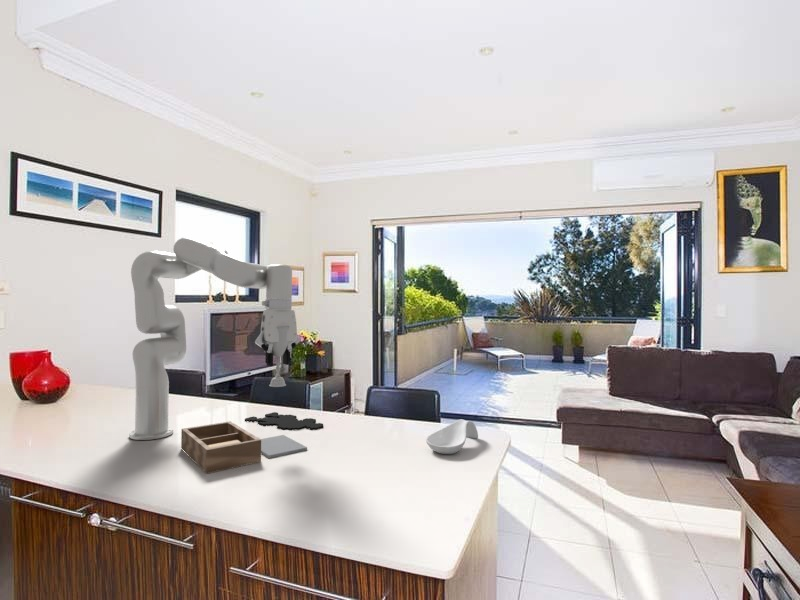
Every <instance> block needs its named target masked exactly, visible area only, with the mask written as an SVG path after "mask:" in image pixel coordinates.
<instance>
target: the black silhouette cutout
mask: <svg viewBox="0 0 800 600" xmlns="http://www.w3.org/2000/svg"><path fill="white" fill-rule="evenodd" d="M247 421H249V422H251V421H252V422H251V423H254V422H255V421H256V423H257V425H258V424H259V426H262V425H263V427H266V425H267V427H270V426H271V427H273V426H276V428H277V429H279V430H283V431H286V430H287V431H296V430H297V431H300V430H303V429H306V430H309V431H316V430H320V429H324V423H322V422H316V418H311V417H310V418H303V419H298V418H297V415H294V414H279V412H276V411H274V412H269V413H266V414H265V415H264V417H257V416H253V415H252V416H250V417H245V418H244V422H247Z"/></svg>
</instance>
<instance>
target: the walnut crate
mask: <svg viewBox="0 0 800 600" xmlns="http://www.w3.org/2000/svg"><path fill="white" fill-rule="evenodd" d="M180 436H181V437H180V439H181V442H180V443H181V446H180V448H182V449H183V450H184V451H185V452H186V453H187V454H188V455H189V456H188V455H187V454H186V453H185V452H184V451H183V450H182V449H181V450H182V451H183V452H184V453H185V454H186V455H187V456H188V458H190V457H191V458H192V459H193V460H194V461H195V462H196V463H197V464H198V465H199V466H200V467H201V470H202V471H204V472H205V474H211V473H215V472H219V471H224V470H229V468H230V469H233V468H232V467H234V468H237V466H239V467H242V466H241V465H243V466H247V465H246V464H248V465H252V464H256V462H257V463H261V462H262V454H261V439H262V438H259V437H258V436H255V435H254V434H252V433H250V432H249V431H247V430H246V429H244V428H243V427H241V426H238V424H235V423H234V422H233V421H229V420H228V421H224V422H216V423H211V424H205V425H199V426H198V425H197V426H191V427H186V428H181V435H180ZM233 440H238V441H240V443H235V444H229V445H224V446H219V447H213V448H210V447H209V446H207V445H212V444H217V443H222V442H228V441H233ZM191 458H190V459H191ZM192 459H191V460H192ZM193 460H192V461H193ZM194 461H193V462H194ZM195 462H194V463H195ZM196 463H195V464H196ZM251 463H252V464H251ZM197 464H196V465H197ZM198 465H197V466H198ZM199 466H198V467H199ZM200 467H199V468H200Z"/></svg>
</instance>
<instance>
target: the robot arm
mask: <svg viewBox="0 0 800 600" xmlns="http://www.w3.org/2000/svg"><path fill="white" fill-rule="evenodd" d="M202 270H203V271H205V272H208V273H210V274H212V275H213V276H215V277H216V278H218V279H219V280H222V281H224V282H227V283H230V284H231V285H235V286H237V287H240V288H244V289H245V288H246V289H258V290H259V289H260V290H261V289H265V290H266V292H265V294H266V295H265V300H263V301H261V305H262V307H263V306H264V307H265V309H263V314H262V316H261V317H262V318H261V322H260V323H261V325H260V333H259V335H258V336H257V338H256V339H255V340H254V343H255V345H257V346H258V347H260V349H261V350H262V351H263V352H264V353H265V359H264V360H265V364H266V366H268V367H273V366H274V355H273V353H272V347H273V343H277V342H279V334H278V333H279V332H278V329H277V328H276V327H289V329H288V330H287V342H288V345H287V348H286V350H285V352H284V354H283V356H282V364H283V365H286V366H289V365H290V362H291V352H292V351H293V349H294V348H295V347H296V346H297V345H298V344H299V343H300V342H301V341H302V340H301V338H300V336H299V335H298V330H297V329H298V328H297V318H296V312H295V310H294V309H293V308H292V304H293V303H292V301H293V300H292V296H293V294H292V293H293V291H292V290H293V289H292V288H293V268H292V267H291V265H289V264H276V263H275V264H270V265H265V264H260V263H259V264H258V263H253V262H247V261H243V260H241V259H238V258H235V257H233V256H230V255H229V253H228V251H227V250H226V249H225V248H222V247H220V246H216V245H214V244H213V243H212V242H211V241H209V240H206V239H203V238H202V239H201V238H196V237H192V236H185V237H181V238H179V239H177V241H175V243H174V245H173V253H172V252H167V251H160V250H159V251H158V250H149V251H145V252H142V253H140V254H139V255H138V256H137V257H136V258H135V259H134V260H133V262H132V265H131V270H130V275H131V276H130V277H131V284H132V286H133V294H134V309H135V310H134V311H135V313H134V314H135V324H136V327H137V329H138V331H139V332H140V333H143V334H146V335H156V334H160V336H159V337H150V338H145V339H143V340H140V341H139V342H138V343H136V344H135V346H134V347H133V349H132V362H133V366H134V371H135V405H134V406H135V411H134V412H135V415H134V416H135V418H134V421H135V422H134V430H132V431H131V432H129V438H130V439H132V440H135V441H149V440H156V439H157V440H158V439H163V438H166V437H169V436H171V435H172V434H173V433H174V428H173V427H170V426H169V399H170V398H169V397H170V395H169V394H170V393H169V392H170V390H169V388H170V385H169V384H170V381H169V375H168V372H167V370H166V368H165V366H169V365H173V364H174V365H175V364H178V363H180V362H182V361H183V360H184V358H185V356H186V354H187V338H186V337H187V336H186V323H185V322H186V321H185V317H184V314H183V312H182V310H181V309H180V308H178V307H177V306H175V305H172V304H165V293H164V290H163V289H164V288H163V287H162V284H161V283H160V281H159V280H158V279H159V278H163V279H172V280H173V279H175V280H179V279H184V278H187V277H189V276H191V275H193V274H195V273H198V272H199V271H202Z"/></svg>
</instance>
